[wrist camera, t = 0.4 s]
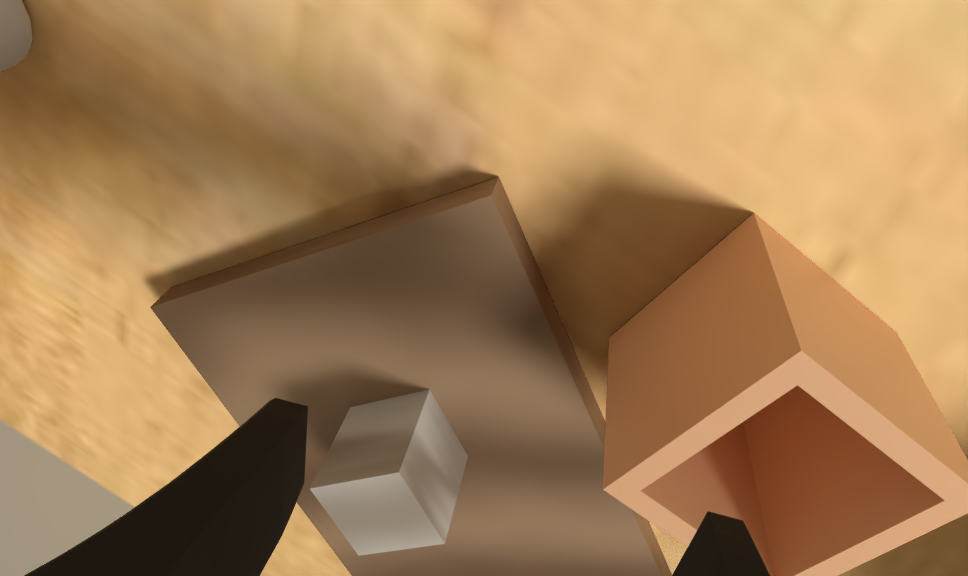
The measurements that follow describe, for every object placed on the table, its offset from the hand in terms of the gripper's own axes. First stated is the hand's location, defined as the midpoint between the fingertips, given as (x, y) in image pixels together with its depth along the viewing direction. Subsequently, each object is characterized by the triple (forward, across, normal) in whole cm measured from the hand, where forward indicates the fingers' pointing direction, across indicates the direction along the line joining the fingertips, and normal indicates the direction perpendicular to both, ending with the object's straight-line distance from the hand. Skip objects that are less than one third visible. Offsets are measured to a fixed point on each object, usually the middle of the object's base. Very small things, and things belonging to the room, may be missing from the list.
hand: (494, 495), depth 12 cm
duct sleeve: (+9, -6, +1) cm, 11 cm away
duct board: (+9, +2, +9) cm, 13 cm away
